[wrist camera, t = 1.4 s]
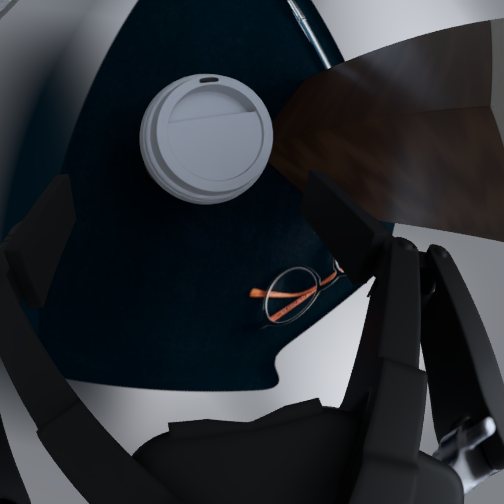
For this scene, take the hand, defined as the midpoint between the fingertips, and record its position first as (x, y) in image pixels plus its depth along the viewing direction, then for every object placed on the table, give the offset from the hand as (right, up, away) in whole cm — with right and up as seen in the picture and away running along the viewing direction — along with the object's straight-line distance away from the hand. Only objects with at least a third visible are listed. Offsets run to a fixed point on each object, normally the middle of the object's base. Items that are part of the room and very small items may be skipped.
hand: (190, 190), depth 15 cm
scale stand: (+12, +12, +24) cm, 29 cm away
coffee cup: (-6, +7, +16) cm, 18 cm away
